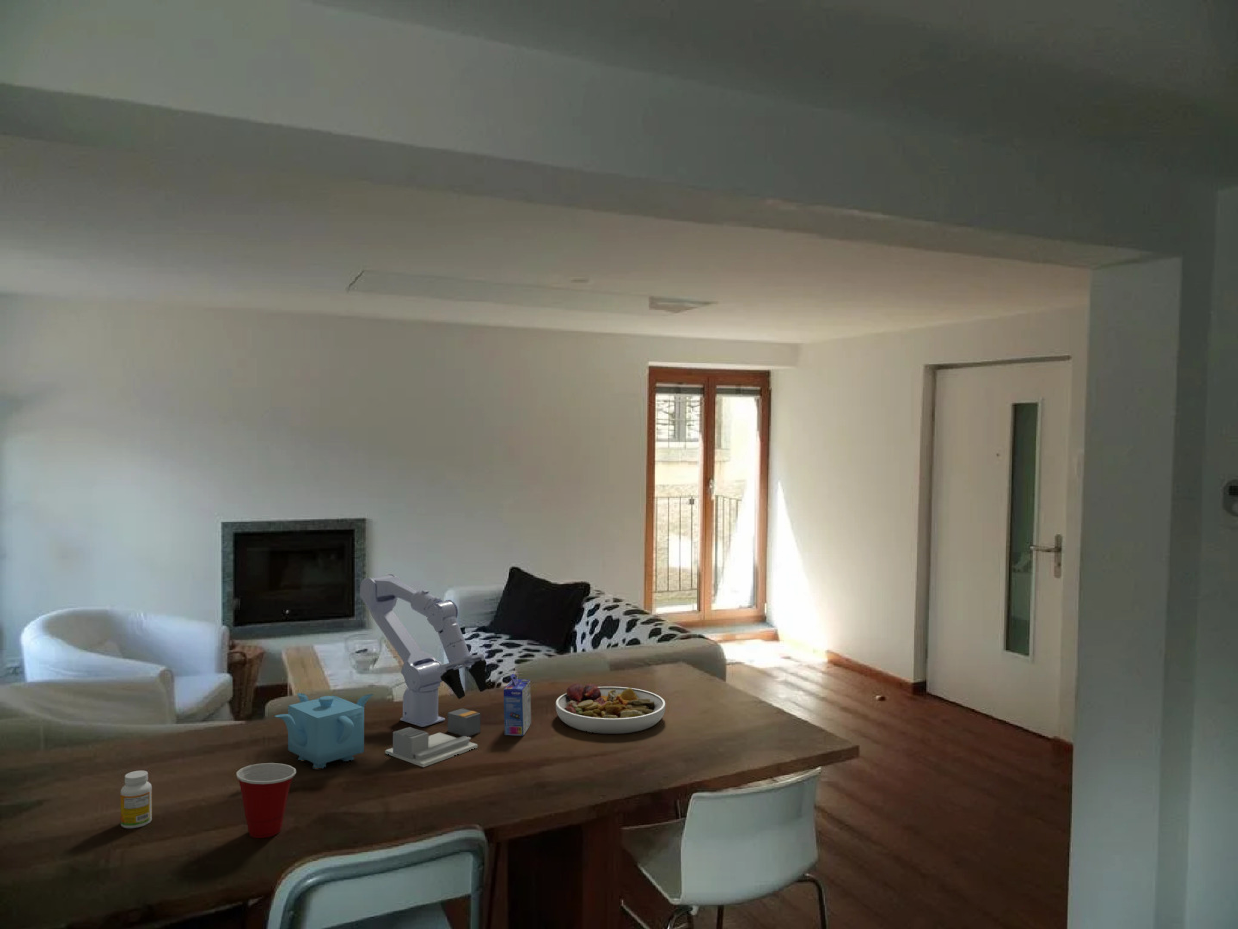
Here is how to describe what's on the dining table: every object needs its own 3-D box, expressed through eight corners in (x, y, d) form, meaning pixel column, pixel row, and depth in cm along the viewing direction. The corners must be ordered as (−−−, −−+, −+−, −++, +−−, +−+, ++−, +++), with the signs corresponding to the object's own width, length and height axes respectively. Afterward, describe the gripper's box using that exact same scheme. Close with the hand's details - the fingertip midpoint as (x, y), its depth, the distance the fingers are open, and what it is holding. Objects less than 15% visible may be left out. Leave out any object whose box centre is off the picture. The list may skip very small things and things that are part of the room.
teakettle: (354, 773, 201) (355, 709, 200) (271, 773, 200) (271, 709, 200) (374, 745, 220) (374, 686, 219) (297, 744, 219) (298, 685, 219)
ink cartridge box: (511, 723, 237) (511, 669, 237) (531, 724, 237) (531, 670, 236) (502, 735, 228) (503, 679, 227) (523, 736, 227) (524, 680, 227)
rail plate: (385, 753, 213) (385, 729, 213) (439, 735, 227) (440, 712, 227) (423, 767, 205) (423, 741, 205) (477, 747, 218) (477, 723, 218)
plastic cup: (303, 835, 169) (303, 773, 169) (243, 849, 163) (243, 785, 163) (287, 815, 178) (287, 756, 178) (230, 828, 172) (230, 767, 172)
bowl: (684, 715, 247) (685, 687, 247) (628, 746, 222) (628, 715, 222) (595, 697, 263) (595, 671, 263) (533, 724, 238) (533, 695, 238)
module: (447, 732, 230) (447, 712, 230) (461, 727, 234) (462, 707, 234) (466, 737, 226) (466, 717, 226) (480, 732, 230) (480, 712, 230)
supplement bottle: (128, 817, 176) (128, 769, 176) (156, 817, 177) (156, 768, 176) (115, 829, 171) (115, 779, 171) (144, 829, 171) (144, 779, 171)
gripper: (441, 644, 223) (460, 695, 220) (483, 633, 235) (502, 682, 231) (426, 655, 227) (444, 705, 224) (468, 643, 239) (486, 691, 235)
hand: (472, 694), depth 228 cm, fingers open, 7 cm apart
